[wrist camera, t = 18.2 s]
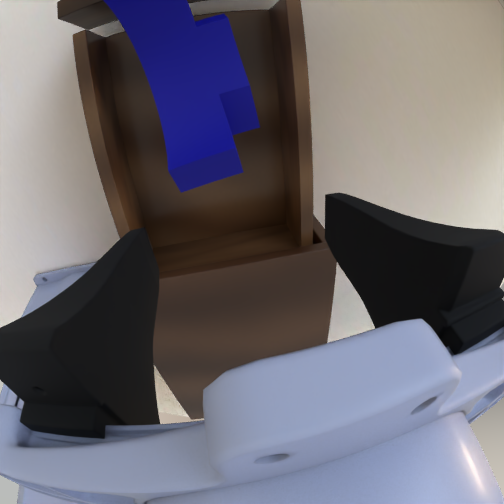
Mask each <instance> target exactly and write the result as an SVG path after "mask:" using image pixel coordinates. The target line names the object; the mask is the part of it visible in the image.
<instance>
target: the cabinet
mask: <svg viewBox="0 0 504 504" xmlns="http://www.w3.org/2000/svg"><path fill="white" fill-rule="evenodd" d="M336 265H337V261H336V259H335V258H334V256H333V254H332V252H331V250H330V248H329V246H328V244H327V242H326V240H325V229H324V228H323V226H322V225H321V224H320V222H319V221H318V220H317V219H316V217H315V216H314V215H313V244H312V245H307V246H301V247H296V248H290V249H285V250H279V251H274V252H268V253H263V254H257V255H252V256H246V257H241V258H235V259H230V260H224V261H219V262H213V263H208V264H202V265H196V266H191V267H185V268H180V269H174V270H169V271H163V272H159V296H158V304H157V312H156V320H155V328H154V337H153V363H154V365H155V366H156V368H157V370H158V371H159V373H160V374H161V376H162V377H163V379H164V381H165V382H166V384H167V385H168V387H169V388H170V390H171V391H172V393H173V394H174V396H175V397H176V399H177V400H178V401H179V403H180V404H181V406H182V407H183V409H184V410H185V411H186V413H187V414H188V415H189V417H190V418H191V419H201V418H204V412H203V390H204V389H205V388H206V387H207V386H209V385H210V384H211V383H212V382H213V381H215V380H216V379H217V378H218V377H219V376H221V375H222V374H223V373H224V372H225V371H227V370H229V369H232V368H235V367H238V366H241V365H244V364H247V363H250V362H253V361H255V360H259V359H264V358H268V357H273V356H277V355H282V354H286V353H290V352H295V351H299V350H303V349H307V348H311V347H314V346H318V345H322V344H326V343H327V340H328V333H329V326H330V318H331V311H332V303H333V294H334V285H335V276H336Z"/></svg>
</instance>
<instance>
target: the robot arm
mask: <svg viewBox="0 0 504 504" xmlns="http://www.w3.org/2000/svg"><path fill="white" fill-rule="evenodd" d="M325 240H326V242H327V244H328V246H329V248H330V250H331V252H332V254H333V256H334V258H335V259H336V261H337V262H338V264H339V265H340V267H341V268H342V270H343V271H344V273H345V274H346V276H347V277H348V279H349V280H350V282H351V283H352V285H353V286H354V288H355V289H356V291H357V292H358V294H359V296H360V297H361V299H362V301H363V302H364V305H365V307H366V309H367V311H368V313H369V315H370V317H371V319H372V321H373V324H374V326H375V329H373V330H370V331H366V332H363V333H360V334H357V335H353V336H350V337H347V338H343V339H340V340H336V341H333V342H329V343H326V344H322V345H318V346H314V347H311V348H307V349H303V350H299V351H295V352H290V353H286V354H282V355H277V356H273V357H268V358H264V359H259V360H255V361H253V362H250V363H247V364H244V365H241V366H238V367H235V368H232V369H229V370H227V371H225V372H224V373H223V374H222V375H221V376H219V377H218V378H217V379H216V380H215V381H213V382H212V383H211V384H210V385H209V386H207V387H206V388H205V389H204V390H203V412H204V420H202V421H194V422H183V423H171V424H160V420H159V415H158V408H157V400H156V391H155V380H154V364H153V337H154V328H155V320H156V312H157V304H158V296H159V267H158V264H157V262H156V259H155V256H154V253H153V250H152V247H151V244H150V241H149V238H148V235H147V232H146V229H145V227H144V228H139V229H135V230H131V231H129V232H128V233H126V234H125V235H124V236H123V237H122V238H121V239H120V240H119V241H118V242H117V243H116V244H115V245H114V246H113V247H112V248H111V249H110V250H109V251H108V252H107V253H106V254H105V255H104V256H103V257H102V258H101V259H100V260H99V261H97V262H95V263H90V264H85V265H80V266H75V267H70V268H65V269H61V270H56V271H51V272H47V273H42V274H37V275H35V277H34V282H35V284H36V285H37V287H36V289H35V291H34V293H33V295H32V297H31V299H30V301H29V303H28V305H27V307H26V309H25V311H24V313H23V315H22V317H21V318H20V319H18V320H16V321H14V322H12V323H10V324H8V325H6V326H3V327H1V328H0V380H1V381H2V382H3V383H4V384H3V388H2V391H1V394H0V475H1V476H3V477H5V478H7V479H9V480H11V481H13V482H15V483H17V484H19V491H18V499H17V504H504V498H503V495H502V493H501V490H500V488H499V485H498V483H497V481H496V478H495V476H494V474H493V472H492V469H491V467H490V465H489V463H488V461H487V458H486V456H485V454H484V452H483V450H482V448H481V446H480V444H479V442H478V440H477V438H476V436H475V434H474V432H473V430H472V428H471V426H470V425H469V424H470V423H472V422H473V421H474V420H476V419H477V418H478V417H480V416H481V415H482V414H483V413H485V412H486V411H487V410H489V409H490V408H491V407H492V406H493V405H495V404H496V403H497V402H498V401H499V400H500V399H502V398H503V397H504V301H503V300H502V299H501V298H503V297H504V292H503V290H502V289H501V288H500V285H501V283H502V280H503V278H504V233H502V232H501V231H498V230H487V229H471V228H463V227H455V226H449V225H443V224H438V223H433V222H429V221H425V220H421V219H417V218H414V217H410V216H407V215H403V214H400V213H397V212H395V211H392V210H389V209H386V208H383V207H380V206H378V205H375V204H372V203H370V202H367V201H365V200H362V199H359V198H356V197H353V196H350V195H347V194H343V193H334V194H327V195H325ZM44 277H45V278H46V279H45V278H44Z"/></svg>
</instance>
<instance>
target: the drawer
mask: <svg viewBox="0 0 504 504" xmlns="http://www.w3.org/2000/svg"><path fill="white" fill-rule="evenodd" d="M187 1H188V3H193V2H200V1H207V0H187ZM57 8H58V19H60V20H63V21H66V22H68V23H71V24H74V25H77V26H79V27H82V28H84V29H87V30H83V31H81V32H78V33H76V34H74V35H73V44H74V53H75V61H76V69H77V75H78V82H79V88H80V93H81V99H82V104H83V109H84V114H85V119H86V124H87V128H88V132H89V137H90V141H91V145H92V149H93V153H94V157H95V161H96V164H97V168H98V171H99V175H100V178H101V182H102V185H103V189H104V192H105V195H106V198H107V201H108V205H109V208H110V211H111V214H112V217H113V220H114V223H115V225H116V228H117V231H118V234H119V237H120V239H121V238H122V237H123V236H124V235H125V234H126V233H128V232H129V231H131V230H135V229H139V228H144V227H145V229H146V232H147V235H148V238H149V241H150V244H151V247H152V250H153V253H154V256H155V259H156V262H157V264H158V267H159V272H163V271H169V270H174V269H180V268H185V267H191V266H196V265H202V264H208V263H213V262H219V261H224V260H230V259H235V258H241V257H246V256H252V255H257V254H263V253H268V252H274V251H279V250H285V249H290V248H296V247H301V246H307V245H312V244H313V161H312V131H311V110H310V93H309V79H308V66H307V55H306V44H305V35H304V25H303V17H302V9H301V1H300V0H279V1H278V2H277V3H276V4H275V5H274V6H273V7H272V8H271V9H269V10H246V11H231V12H220V13H211V14H204V15H197V16H193V18H194V21H199V20H202V19H205V18H209V17H212V16H216V15H220V14H223V13H224V14H225V15H226V16H227V17H228V19H229V23H230V26H231V29H232V33H233V36H234V39H235V42H236V45H237V49H238V52H239V55H240V58H241V61H242V64H243V67H244V70H245V73H246V76H247V79H248V81H249V84H250V88H251V92H252V96H253V100H254V104H255V108H256V112H257V116H258V120H259V125H260V128H256V129H252V130H249V131H245V132H242V133H239V134H235V135H233V139H234V142H235V145H236V149H237V152H238V155H239V159H240V162H241V165H242V169H243V173H240V174H236V175H233V176H230V177H227V178H224V179H221V180H217V181H214V182H211V183H208V184H205V185H202V186H199V187H196V188H193V189H190V190H188V191H185V192H182V193H181V192H180V190H179V188H178V187H177V185H176V183H175V182H174V180H173V178H172V177H171V175H170V173H169V171H168V161H167V152H166V145H165V139H164V134H163V129H162V125H161V121H160V117H159V113H158V110H157V106H156V103H155V100H154V96H153V93H152V90H151V87H150V85H149V82H148V79H147V76H146V74H145V71H144V69H143V66H142V64H141V62H140V59H139V57H138V55H137V53H136V51H135V48H134V46H133V44H132V42H131V40H130V38H129V37H128V35H127V33H126V31H125V32H121V33H118V34H115V35H112V36H109V37H106V38H105V37H103V36H100V35H98V34H96V33H93V32H91V31H88V30H90V29H93V28H95V27H98V26H101V25H104V24H107V23H110V22H113V21H116V20H118V18H117V17H116V15H115V14H114V13H113V11H112V10H111V9H110V7H109V6H108V5H107V4H106V3H105V2H104V1H103V0H60V1H58V2H57Z"/></svg>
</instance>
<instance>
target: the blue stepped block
mask: <svg viewBox="0 0 504 504" xmlns="http://www.w3.org/2000/svg"><path fill="white" fill-rule="evenodd" d="M103 1H104V2H105V3H106V4H107V5H108V6H109V7H110V9H111V10H112V11H113V13H114V14H115V15H116V17H117V18H118V20H119V21H120V23H121V24H122V26H123V28H124V29H125V31H126V33H127V35H128V37H129V38H130V40H131V42H132V44H133V46H134V48H135V51H136V53H137V55H138V57H139V59H140V62H141V64H142V66H143V69H144V71H145V74H146V76H147V79H148V82H149V85H150V87H151V90H152V93H153V96H154V100H155V103H156V106H157V110H158V113H159V117H160V121H161V125H162V129H163V134H164V139H165V145H166V152H167V161H168V171H169V173H170V175H171V177H172V178H173V180H174V182H175V183H176V185H177V187H178V188H179V190H180V192H181V193H182V192H185V191H188V190H190V189H193V188H196V187H199V186H202V185H205V184H208V183H211V182H214V181H217V180H221V179H224V178H227V177H230V176H233V175H236V174H240V173H243V169H242V165H241V162H240V159H239V155H238V152H237V149H236V145H235V142H234V139H233V135H235V134H239V133H242V132H245V131H249V130H252V129H256V128H260V125H259V120H258V116H257V112H256V108H255V104H254V100H253V96H252V92H251V88H250V84H249V81H248V79H247V76H246V73H245V70H244V67H243V64H242V61H241V58H240V55H239V52H238V49H237V45H236V42H235V39H234V36H233V33H232V29H231V26H230V23H229V19H228V17H227V16H226V15H225V14H224V13H223V14H220V15H216V16H212V17H209V18H205V19H202V20H199V21H194V18H193V15H192V12H191V9H190V7H189V4H188V1H187V0H103Z"/></svg>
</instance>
